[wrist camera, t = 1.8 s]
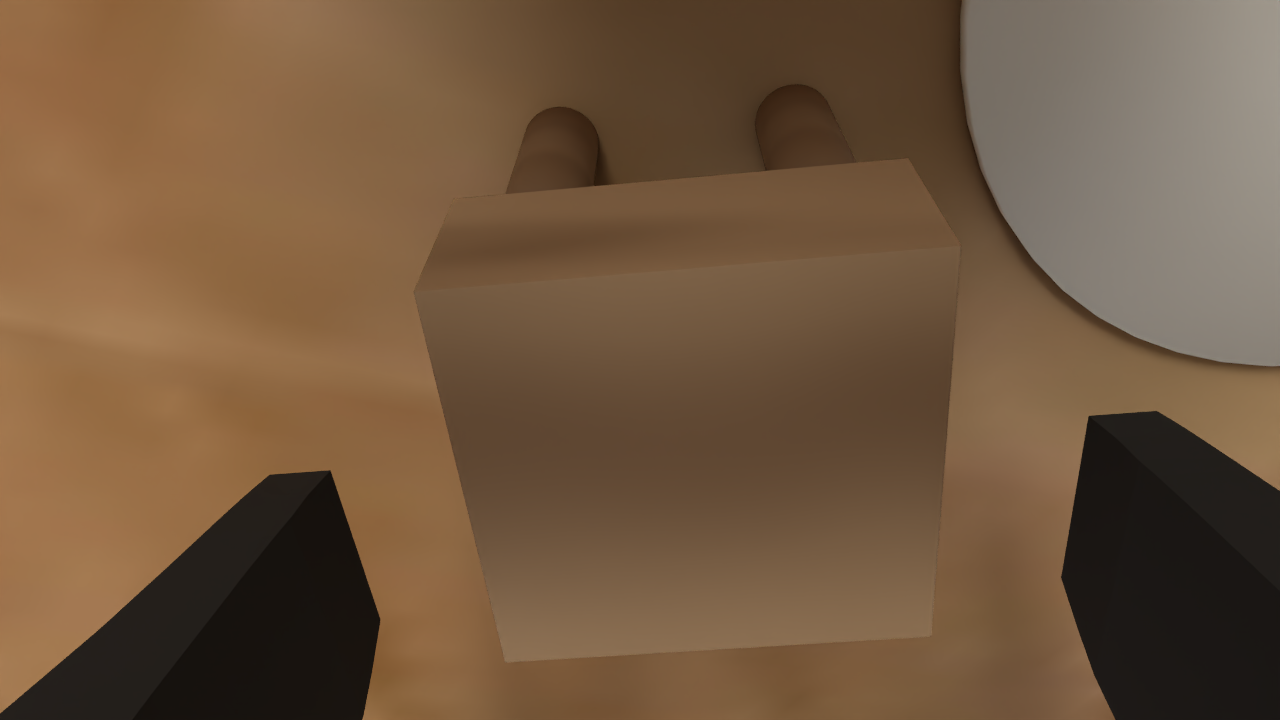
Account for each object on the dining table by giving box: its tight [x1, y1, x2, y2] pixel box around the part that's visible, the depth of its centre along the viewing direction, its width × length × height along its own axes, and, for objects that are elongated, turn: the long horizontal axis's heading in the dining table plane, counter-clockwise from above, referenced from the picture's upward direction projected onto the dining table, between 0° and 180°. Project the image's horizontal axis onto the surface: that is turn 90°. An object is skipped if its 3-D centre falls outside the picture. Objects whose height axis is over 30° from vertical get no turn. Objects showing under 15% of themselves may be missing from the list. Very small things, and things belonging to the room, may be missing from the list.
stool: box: [414, 85, 961, 662], centre depth 13 cm, size 5×5×6 cm
